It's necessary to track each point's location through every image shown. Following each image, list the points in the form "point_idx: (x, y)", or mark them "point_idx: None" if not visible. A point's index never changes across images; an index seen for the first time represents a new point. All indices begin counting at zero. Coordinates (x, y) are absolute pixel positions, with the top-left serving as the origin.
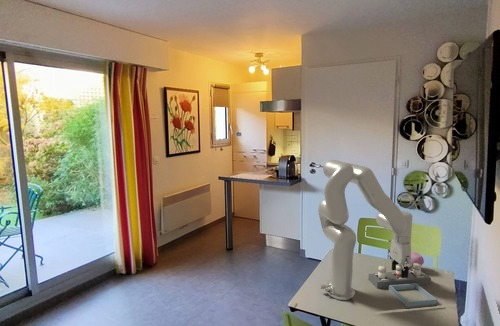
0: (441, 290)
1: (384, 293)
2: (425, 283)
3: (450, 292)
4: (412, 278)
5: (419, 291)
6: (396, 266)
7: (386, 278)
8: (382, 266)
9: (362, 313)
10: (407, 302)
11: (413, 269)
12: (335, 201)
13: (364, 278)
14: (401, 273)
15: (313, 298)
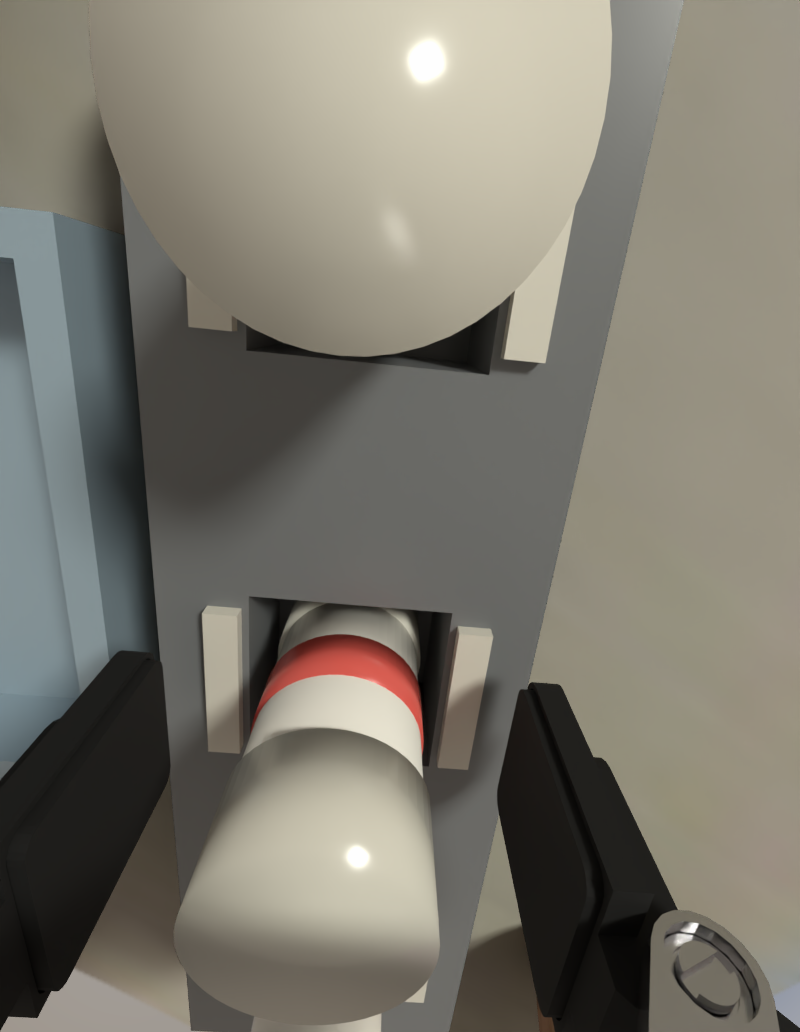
0: (121, 926)
1: (68, 88)
2: None
3: (76, 967)
4: (205, 827)
5: (34, 705)
6: (333, 840)
7: (343, 358)
8: (453, 183)
9: None
10: None
11: (332, 1030)
12: None
13: (756, 40)
14: (80, 727)
15: None
